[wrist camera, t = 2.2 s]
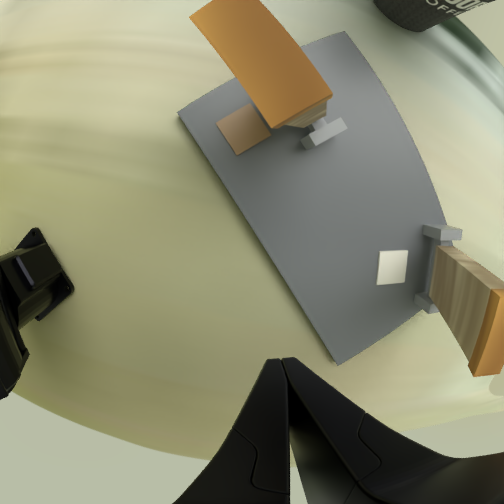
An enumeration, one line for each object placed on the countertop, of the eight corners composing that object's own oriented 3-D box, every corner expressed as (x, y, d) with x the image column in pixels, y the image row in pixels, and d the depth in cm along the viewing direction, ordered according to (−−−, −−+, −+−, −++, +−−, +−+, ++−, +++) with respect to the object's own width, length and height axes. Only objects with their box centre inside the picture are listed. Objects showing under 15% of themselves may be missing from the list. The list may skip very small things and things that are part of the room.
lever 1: (303, 130, 16) (271, 128, 7) (265, 75, 15) (188, 17, 6) (328, 116, 15) (332, 93, 6) (290, 60, 14) (241, -18, 5)
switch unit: (335, 360, 23) (346, 382, 20) (179, 114, 17) (168, 103, 14) (455, 274, 21) (476, 285, 18) (341, 35, 16) (355, 16, 13)
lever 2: (427, 296, 19) (473, 376, 9) (435, 244, 18) (500, 296, 8) (446, 297, 18) (499, 373, 9) (454, 245, 17) (526, 296, 8)
